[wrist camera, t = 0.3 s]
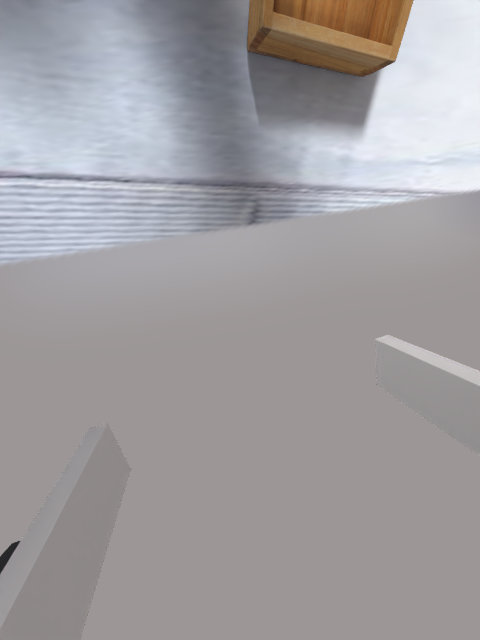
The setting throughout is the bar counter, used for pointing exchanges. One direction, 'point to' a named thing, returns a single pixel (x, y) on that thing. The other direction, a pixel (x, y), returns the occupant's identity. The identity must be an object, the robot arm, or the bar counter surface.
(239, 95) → the bar counter surface
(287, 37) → the tray
